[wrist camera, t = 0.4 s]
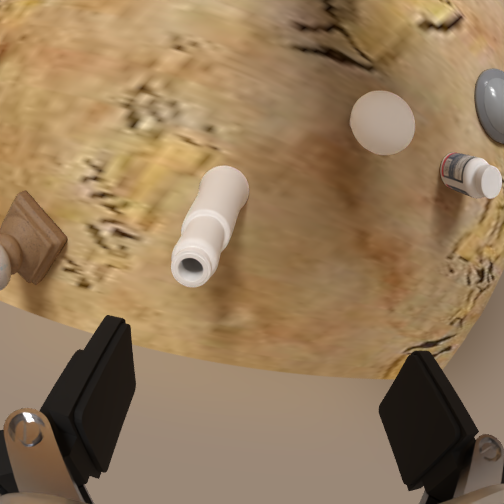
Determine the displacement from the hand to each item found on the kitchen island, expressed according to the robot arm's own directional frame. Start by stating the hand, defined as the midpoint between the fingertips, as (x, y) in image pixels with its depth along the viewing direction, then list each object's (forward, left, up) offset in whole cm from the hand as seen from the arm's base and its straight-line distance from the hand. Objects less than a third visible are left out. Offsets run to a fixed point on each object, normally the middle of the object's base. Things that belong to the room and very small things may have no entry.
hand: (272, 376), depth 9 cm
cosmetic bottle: (+1, -4, -30) cm, 30 cm away
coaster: (-26, +31, -30) cm, 50 cm away
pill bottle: (-12, +25, -30) cm, 41 cm away
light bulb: (-12, +9, -30) cm, 34 cm away
